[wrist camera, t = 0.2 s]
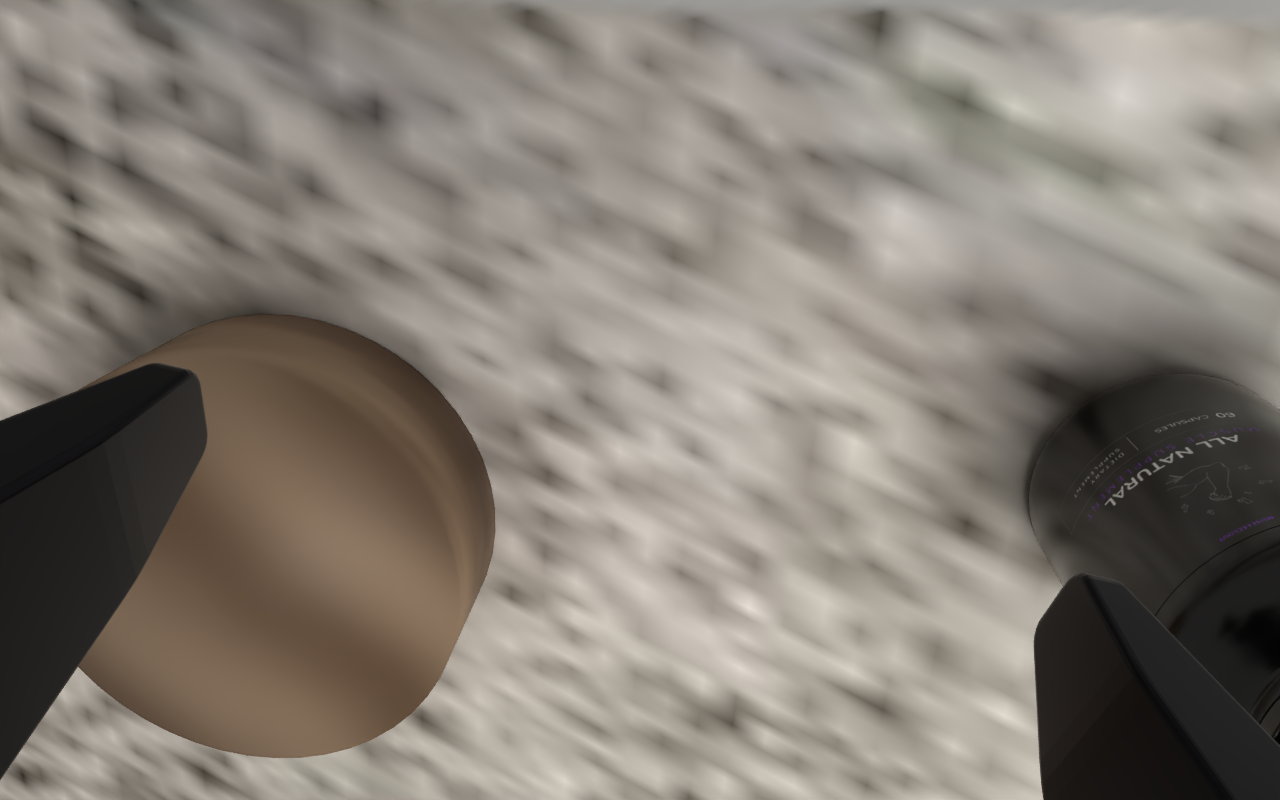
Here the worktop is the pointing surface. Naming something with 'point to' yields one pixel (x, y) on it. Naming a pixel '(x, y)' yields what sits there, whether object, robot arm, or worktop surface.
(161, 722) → the walnut plinth
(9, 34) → the worktop surface
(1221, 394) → the supplement bottle
